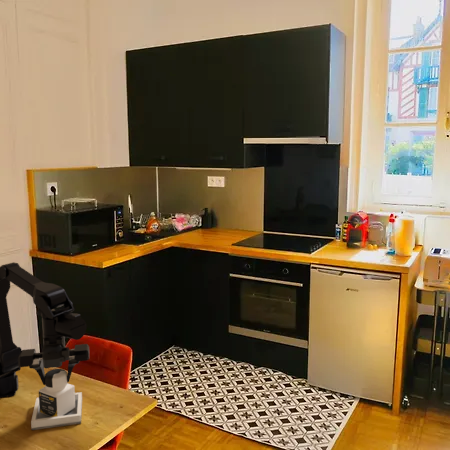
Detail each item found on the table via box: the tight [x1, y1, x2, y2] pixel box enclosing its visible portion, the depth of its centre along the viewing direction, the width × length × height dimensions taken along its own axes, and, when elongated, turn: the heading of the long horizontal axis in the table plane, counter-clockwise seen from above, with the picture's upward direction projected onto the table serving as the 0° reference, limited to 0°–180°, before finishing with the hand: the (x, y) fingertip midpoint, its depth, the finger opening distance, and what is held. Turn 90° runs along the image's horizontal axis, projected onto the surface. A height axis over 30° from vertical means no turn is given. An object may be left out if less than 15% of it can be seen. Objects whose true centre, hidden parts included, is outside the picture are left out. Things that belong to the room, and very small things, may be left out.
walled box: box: [30, 391, 83, 431], centre depth 140 cm, size 13×13×2 cm
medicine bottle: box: [38, 368, 76, 417], centre depth 139 cm, size 7×7×12 cm
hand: (56, 382), depth 138 cm, fingers closed on medicine bottle, 6 cm apart
